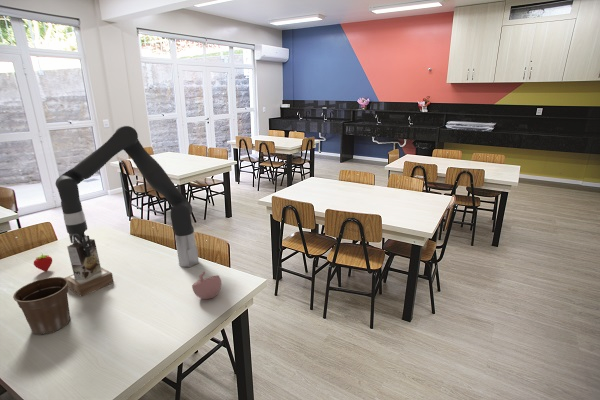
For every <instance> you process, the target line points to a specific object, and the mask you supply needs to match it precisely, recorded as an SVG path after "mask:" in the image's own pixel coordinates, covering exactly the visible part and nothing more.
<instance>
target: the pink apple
mask: <svg viewBox="0 0 600 400" xmlns="http://www.w3.org/2000/svg"><path fill="white" fill-rule="evenodd" d="M205 274H206V272H205V271H202V273H201V274H200V275H199V279H198V280H197V281H195V282H194V283H192V285H191V288H192V292H193V293H194V295H195V296H196V297H198V298H200V299H202V300H209V299H212V298H214V297H215V296H217V295H218V294H219V292H220V291H221V288H222V280H221V279H222V278H221V277H220V275H218V274H217V275H212V276H209V277H204V276H205ZM203 277H204V278H203Z"/></svg>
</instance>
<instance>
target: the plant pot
mask: <svg viewBox="0 0 600 400" xmlns="http://www.w3.org/2000/svg"><path fill="white" fill-rule="evenodd" d="M67 285H68V280H67V279H65V277H61V276H53V277H51V276H50V277H47V278H42V279H40V278H39V279H37V280H34V281H32V282H29V283H27V284H26V285H23V286H21V287H20V288H19V289H17V290H16V291H15V292H14V294H13V295H12V296H13V297H12V298H13V300H14V301H15V302H16V303H17V305H18V307H19V308H20V309H21V310H22V314H23V315H24V317H25V320H26V322H27V324H28V326H29V329H30V331H31V332H32V334H34V335H38V336H41V335H44V334H48V335H49V334H52V333H55V332H56V331H59V330H61V329H63V328H64V327H65V326H67V325H68V324H69V322H70V320H71V313H70V306H69V298H68V292H69V291H68V290H69V288H67Z"/></svg>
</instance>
